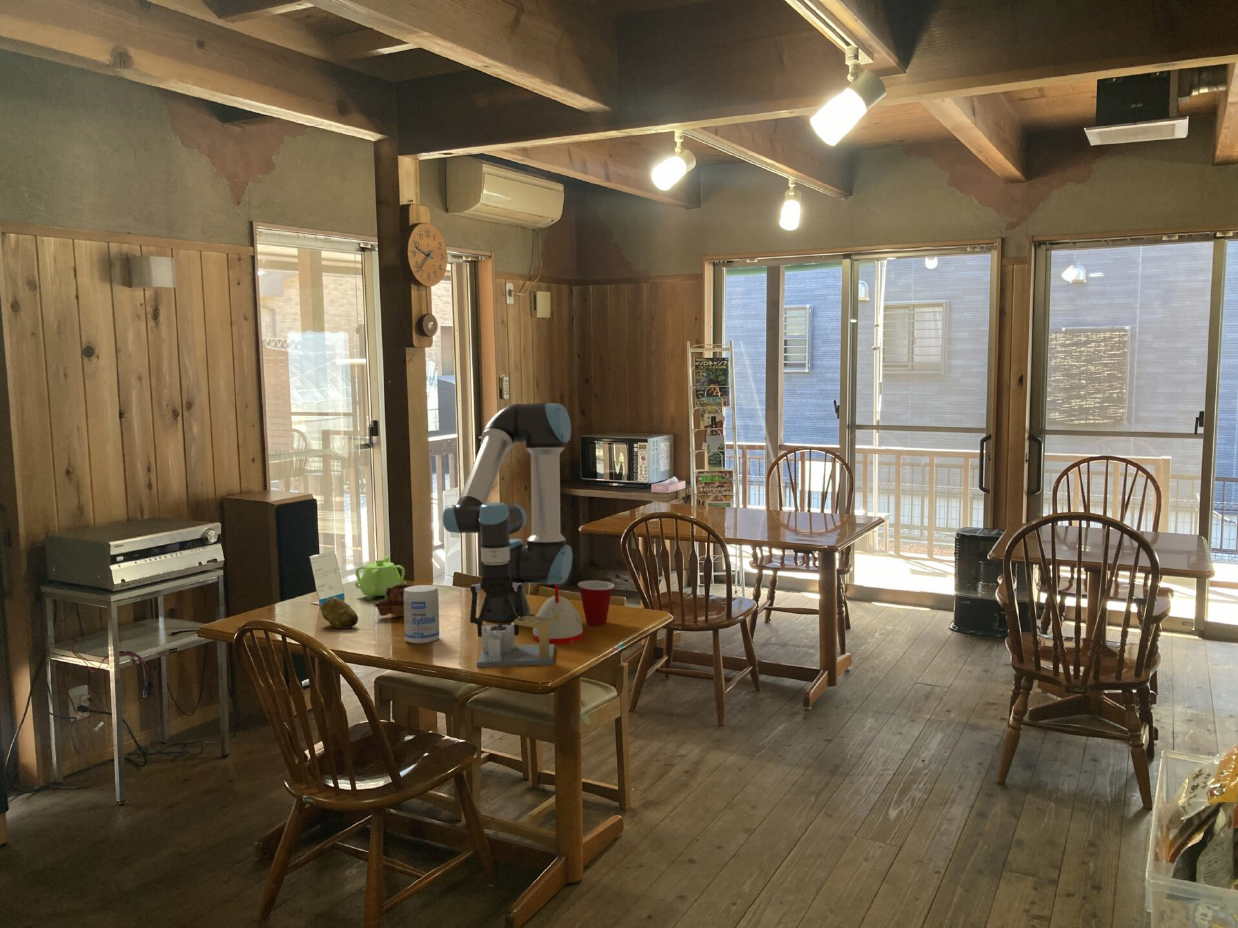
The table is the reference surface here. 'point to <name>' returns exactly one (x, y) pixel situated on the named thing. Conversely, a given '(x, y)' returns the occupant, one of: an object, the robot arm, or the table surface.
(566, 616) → the kitchen timer
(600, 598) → the plastic cup
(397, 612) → the wooden carving
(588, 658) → the table surface
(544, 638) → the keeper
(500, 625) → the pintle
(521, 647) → the board
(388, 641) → the table surface
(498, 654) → the link
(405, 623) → the supplement tub
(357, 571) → the green lidded pot
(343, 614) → the potato
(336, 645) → the table surface
